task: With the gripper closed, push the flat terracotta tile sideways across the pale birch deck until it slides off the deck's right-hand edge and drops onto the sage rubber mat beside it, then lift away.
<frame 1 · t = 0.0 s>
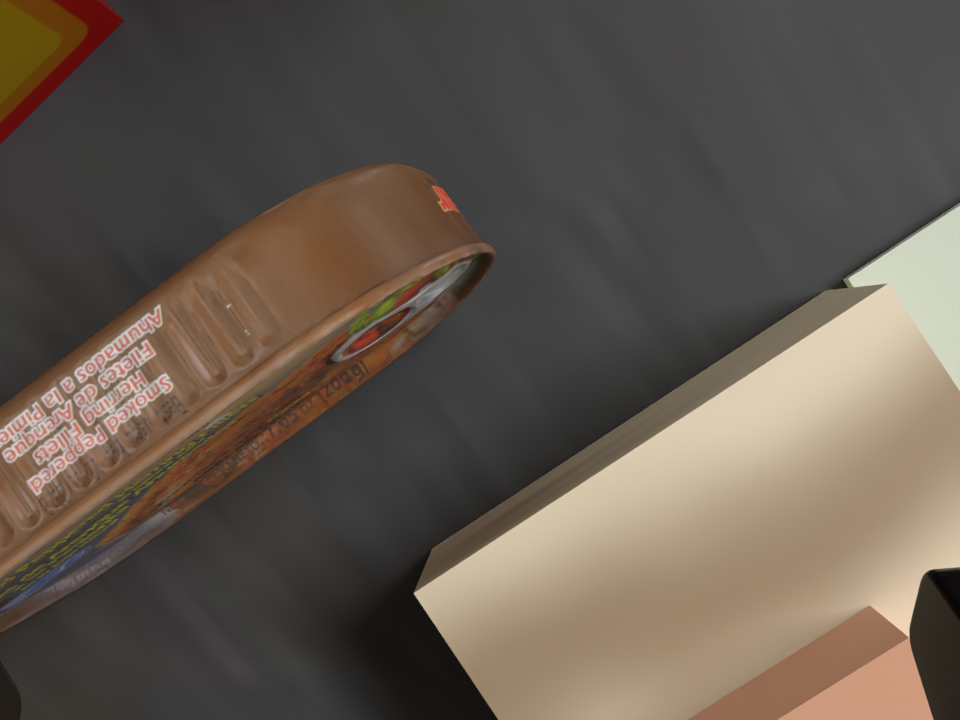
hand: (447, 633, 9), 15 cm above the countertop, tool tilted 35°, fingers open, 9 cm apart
tin: (245, 398, 24), on the countertop
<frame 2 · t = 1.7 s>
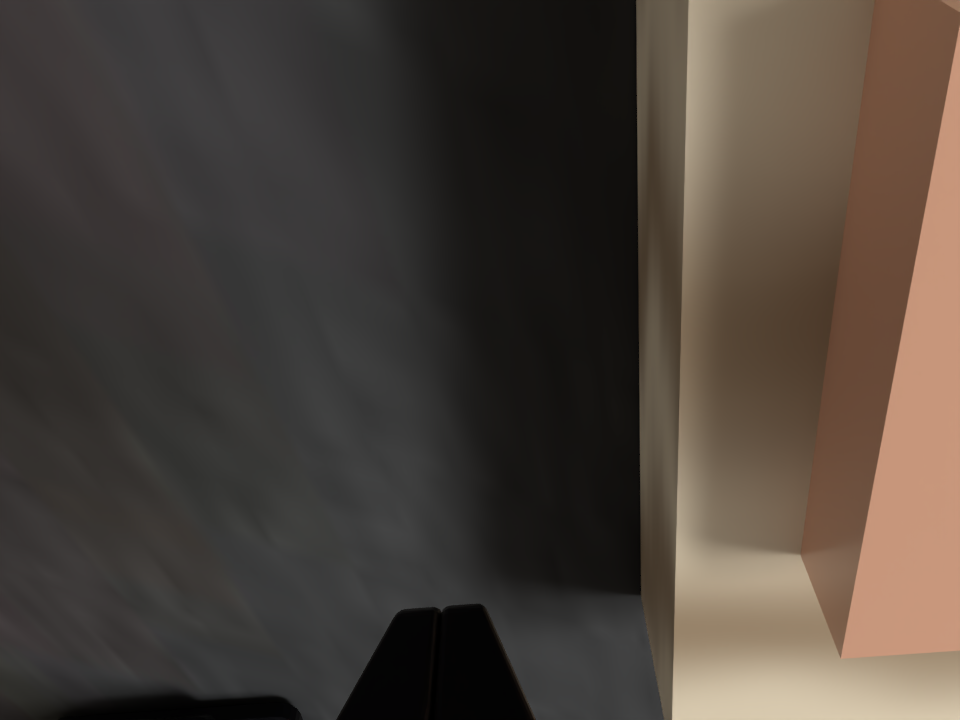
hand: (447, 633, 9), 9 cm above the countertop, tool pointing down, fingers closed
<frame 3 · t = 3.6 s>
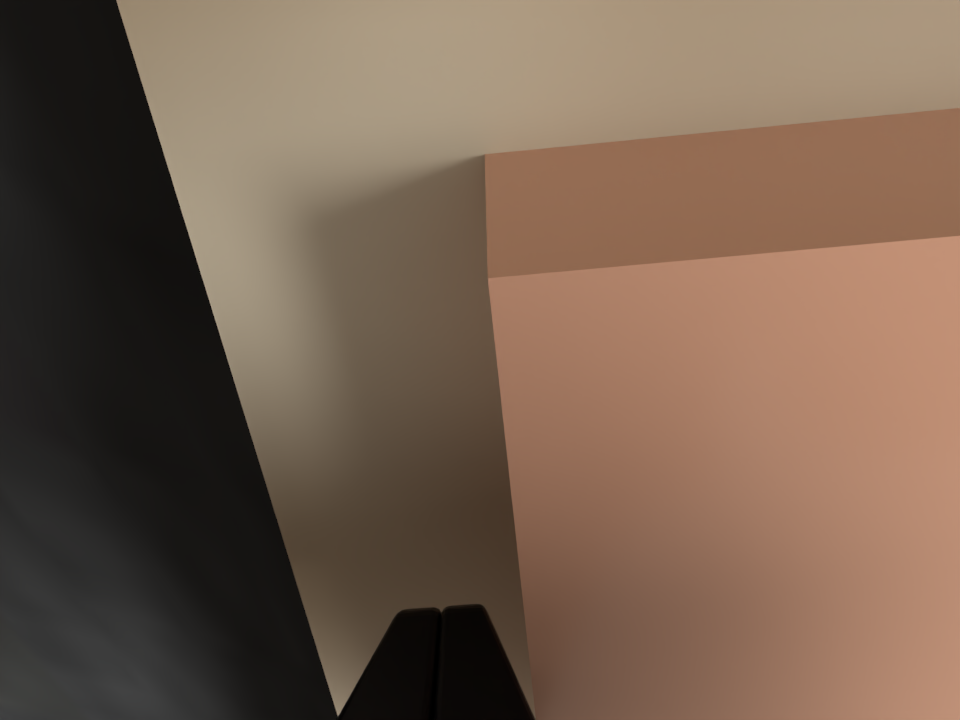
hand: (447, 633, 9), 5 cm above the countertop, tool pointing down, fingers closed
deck: (758, 321, 13), on the countertop
tile: (810, 531, 10), point 4 cm above the countertop, touching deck, gripper
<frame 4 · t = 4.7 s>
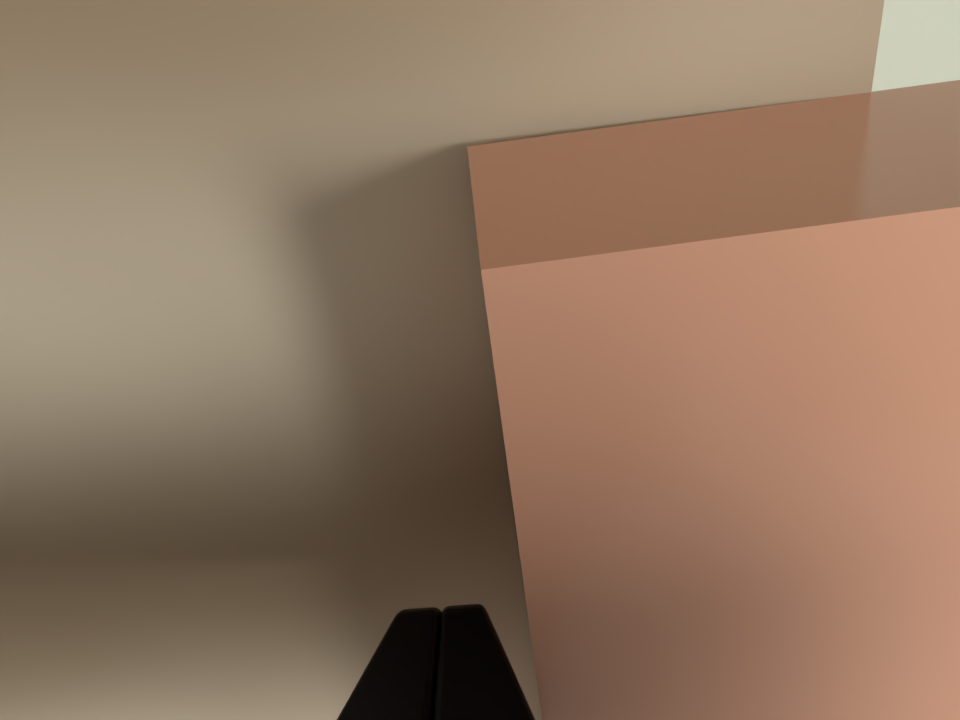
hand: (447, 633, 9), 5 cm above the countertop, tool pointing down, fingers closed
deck: (305, 360, 13), on the countertop
tile: (806, 515, 10), point 4 cm above the countertop, touching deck
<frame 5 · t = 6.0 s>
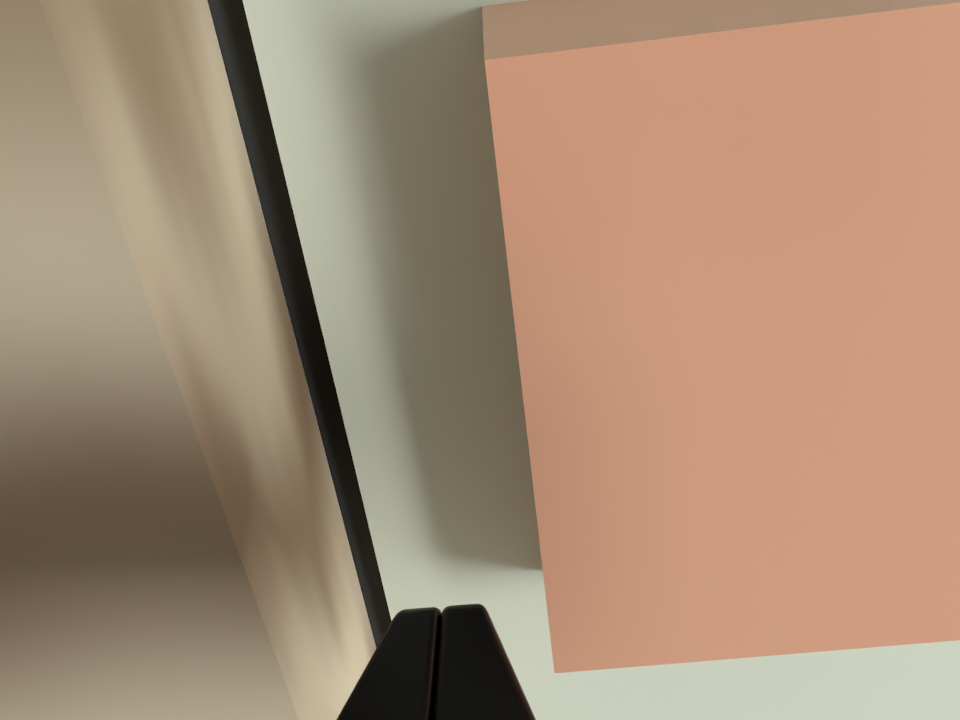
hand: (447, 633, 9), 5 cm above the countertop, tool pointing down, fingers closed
mat: (793, 317, 13), on the countertop
tile: (781, 412, 11), point 2 cm above the countertop, tilted 180°, touching mat
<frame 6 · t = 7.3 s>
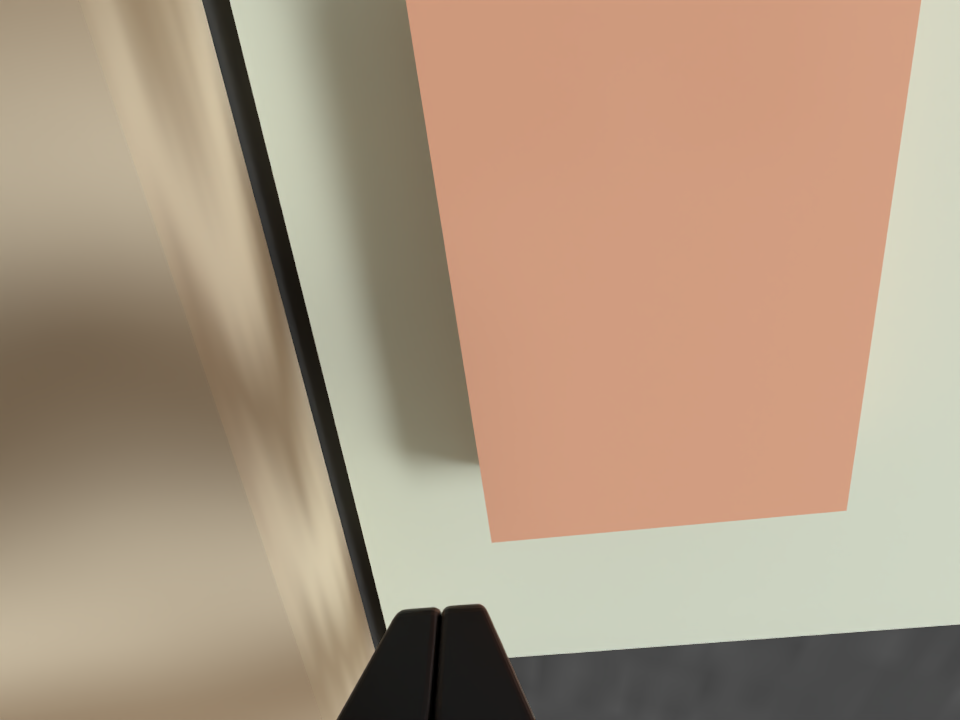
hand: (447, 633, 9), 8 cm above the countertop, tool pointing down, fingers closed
mat: (691, 234, 15), on the countertop
tile: (665, 301, 13), point 2 cm above the countertop, tilted 180°, touching mat
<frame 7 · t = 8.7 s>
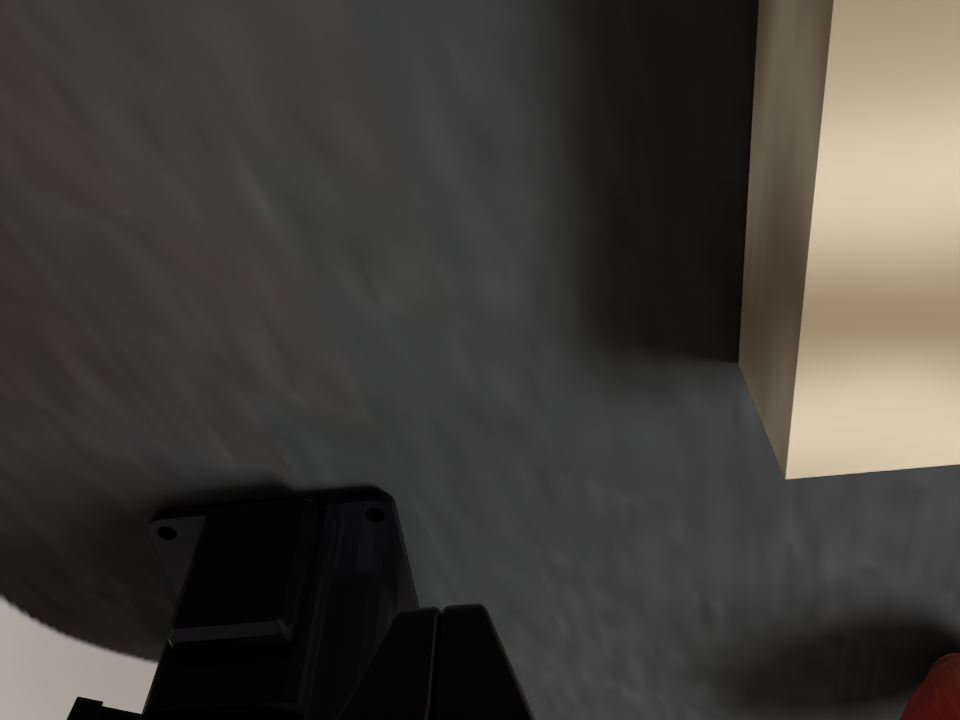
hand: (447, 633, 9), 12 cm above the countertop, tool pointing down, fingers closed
onion: (948, 654, 28), on the countertop
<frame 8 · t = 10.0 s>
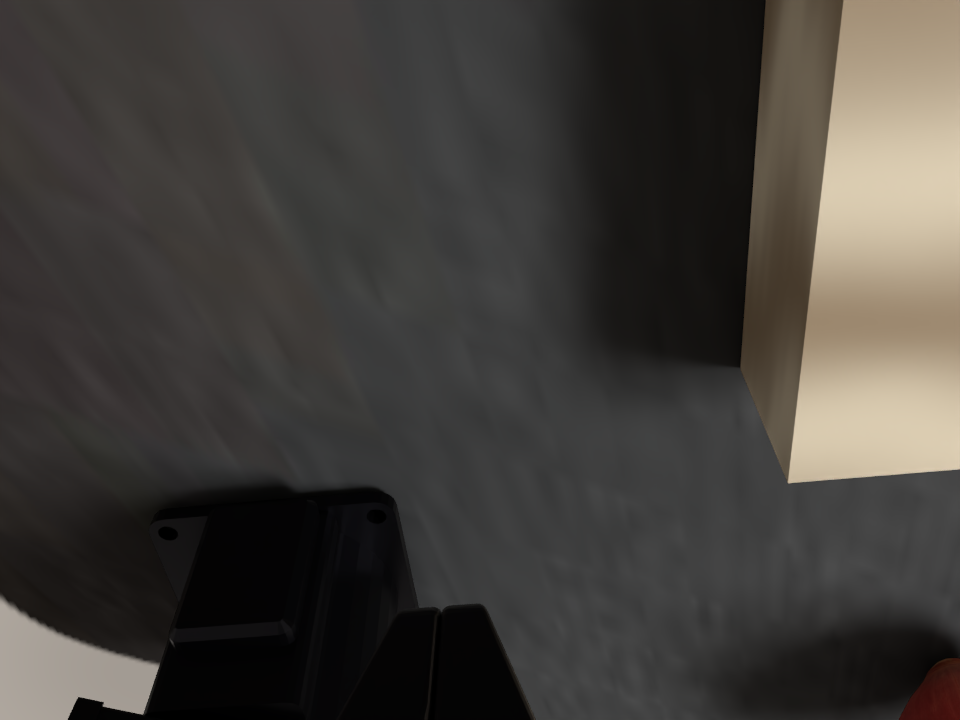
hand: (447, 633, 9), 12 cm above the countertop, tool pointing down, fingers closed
onion: (945, 659, 28), on the countertop
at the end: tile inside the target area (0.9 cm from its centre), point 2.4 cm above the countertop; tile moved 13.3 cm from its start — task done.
